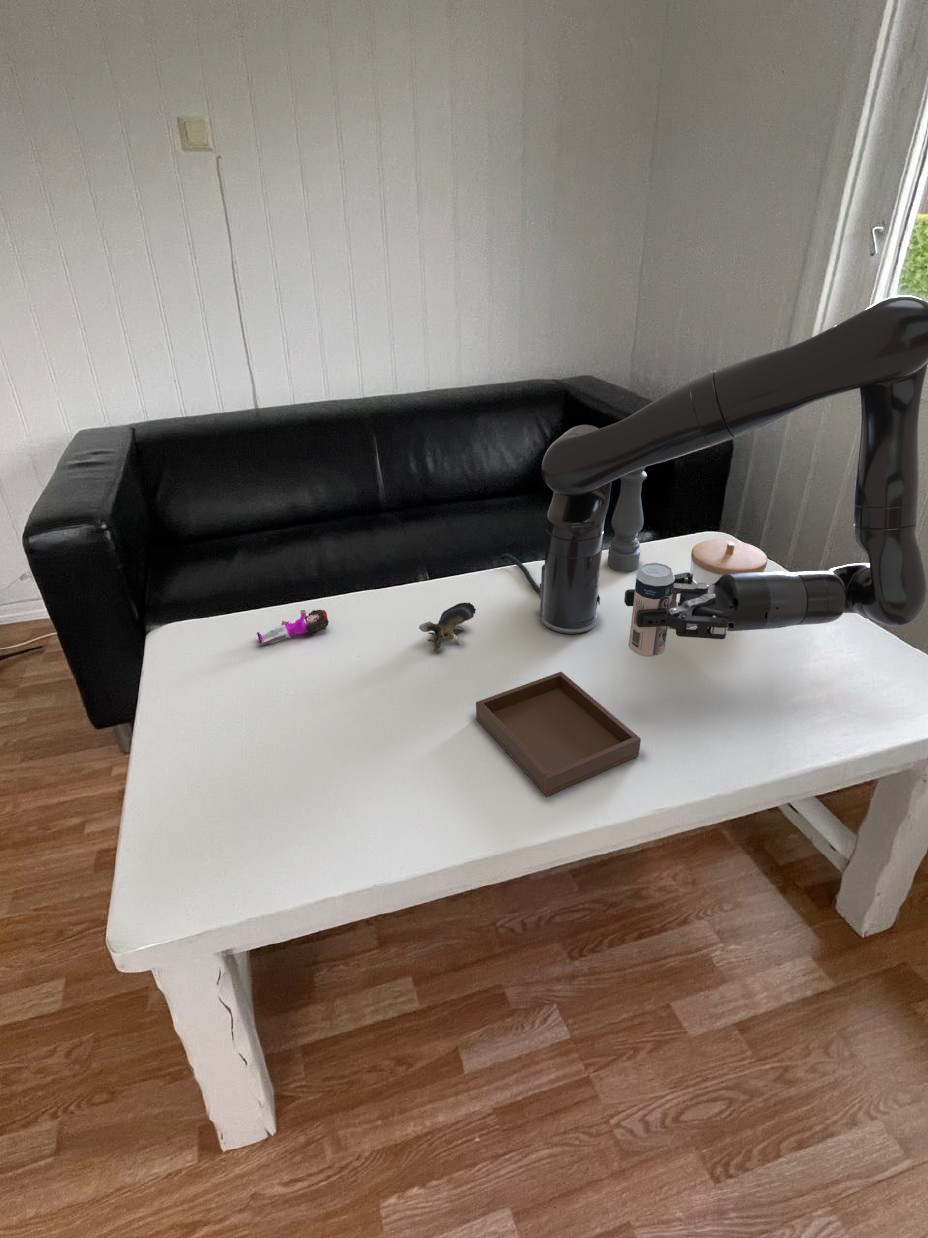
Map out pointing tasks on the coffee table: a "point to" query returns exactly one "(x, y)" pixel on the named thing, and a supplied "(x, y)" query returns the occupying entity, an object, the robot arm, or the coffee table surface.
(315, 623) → the character figurine
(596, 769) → the tray
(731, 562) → the lidded bowl
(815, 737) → the coffee table surface
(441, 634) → the brown irregular figure
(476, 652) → the coffee table surface
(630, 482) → the candle holder
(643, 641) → the beer can
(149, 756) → the coffee table surface
